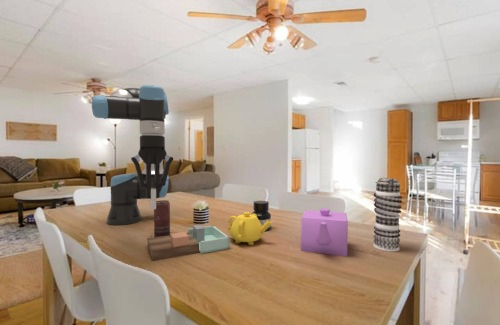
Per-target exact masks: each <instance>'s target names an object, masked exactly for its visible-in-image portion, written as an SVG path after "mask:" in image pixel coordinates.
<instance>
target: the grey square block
mask: <svg viewBox="0 0 500 325" xmlns="http://www.w3.org/2000/svg"><path fill="white" fill-rule="evenodd" d="M204 227H205V226H203V225H201V224H197V225H192V228H193V238H194V239H195V240H196V241H197V242H200V241H205V234H204Z"/></svg>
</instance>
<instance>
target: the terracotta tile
mask: <svg viewBox="0 0 500 325" xmlns="http://www.w3.org/2000/svg"><path fill="white" fill-rule="evenodd" d="M186 233H187V232H185V231H183V232H182V231H181V232H175V233H170V234H169V235H170V237H171V244H172V246H173V247H178V246H185V245H189V236H188V235H187V234H186Z"/></svg>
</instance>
